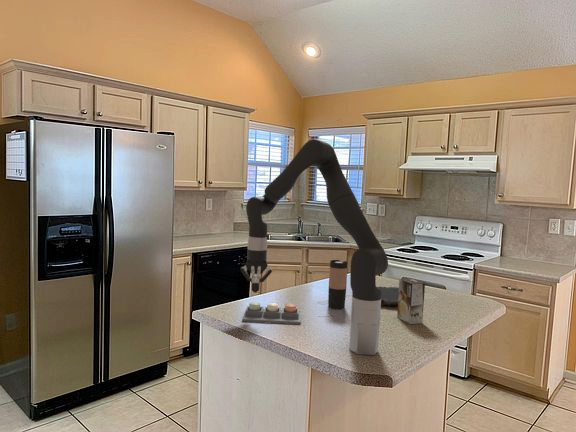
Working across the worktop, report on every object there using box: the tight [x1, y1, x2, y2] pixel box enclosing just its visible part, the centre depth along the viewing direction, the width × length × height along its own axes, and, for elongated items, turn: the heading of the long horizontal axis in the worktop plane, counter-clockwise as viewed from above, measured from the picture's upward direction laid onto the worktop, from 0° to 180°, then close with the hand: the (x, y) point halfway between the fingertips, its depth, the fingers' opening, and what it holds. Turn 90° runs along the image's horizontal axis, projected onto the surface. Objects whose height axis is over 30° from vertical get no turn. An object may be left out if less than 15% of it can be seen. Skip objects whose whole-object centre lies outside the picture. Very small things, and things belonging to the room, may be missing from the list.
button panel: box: [241, 305, 302, 325], centre depth 168 cm, size 14×22×3 cm, turn 89°
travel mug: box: [327, 259, 349, 310], centre depth 186 cm, size 8×8×20 cm
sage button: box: [248, 301, 261, 311], centre depth 168 cm, size 4×4×2 cm
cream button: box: [266, 302, 279, 312], centre depth 168 cm, size 4×4×2 cm
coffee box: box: [396, 278, 426, 325], centre depth 172 cm, size 9×6×16 cm
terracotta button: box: [284, 303, 297, 313], centre depth 168 cm, size 4×4×2 cm
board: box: [377, 286, 399, 307], centre depth 200 cm, size 22×22×5 cm
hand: (255, 292), depth 168 cm, fingers closed
